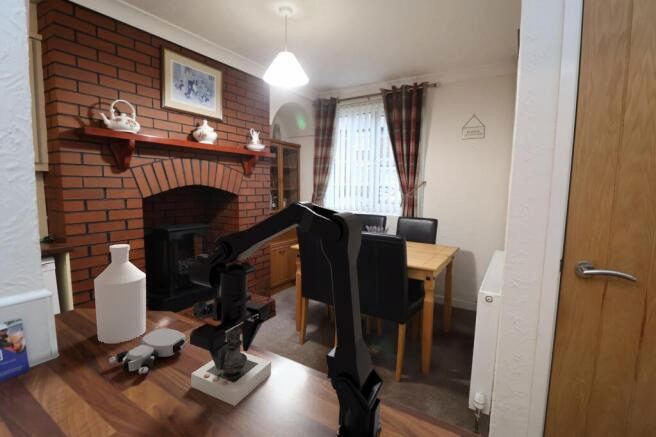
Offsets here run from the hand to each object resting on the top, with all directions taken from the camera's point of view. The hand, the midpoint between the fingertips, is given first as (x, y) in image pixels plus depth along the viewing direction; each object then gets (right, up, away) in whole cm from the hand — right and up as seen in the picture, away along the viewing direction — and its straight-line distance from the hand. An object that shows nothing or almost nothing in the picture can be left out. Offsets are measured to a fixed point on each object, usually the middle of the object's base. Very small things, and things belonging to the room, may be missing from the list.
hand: (233, 359), depth 70 cm
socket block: (0, -5, +1) cm, 5 cm away
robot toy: (-22, -3, +8) cm, 24 cm away
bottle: (-37, -1, +19) cm, 41 cm away
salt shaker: (0, -4, 0) cm, 4 cm away
